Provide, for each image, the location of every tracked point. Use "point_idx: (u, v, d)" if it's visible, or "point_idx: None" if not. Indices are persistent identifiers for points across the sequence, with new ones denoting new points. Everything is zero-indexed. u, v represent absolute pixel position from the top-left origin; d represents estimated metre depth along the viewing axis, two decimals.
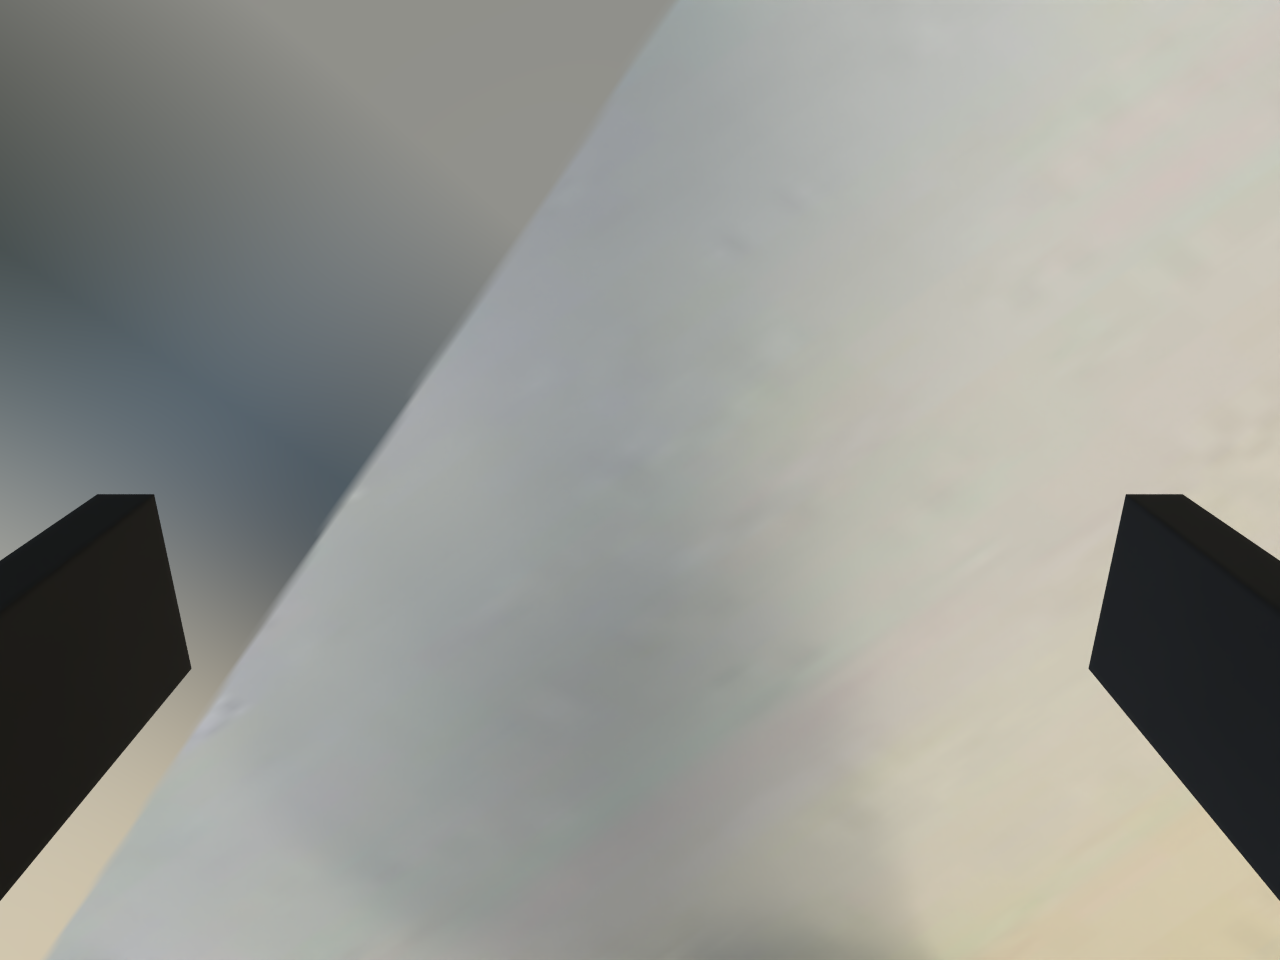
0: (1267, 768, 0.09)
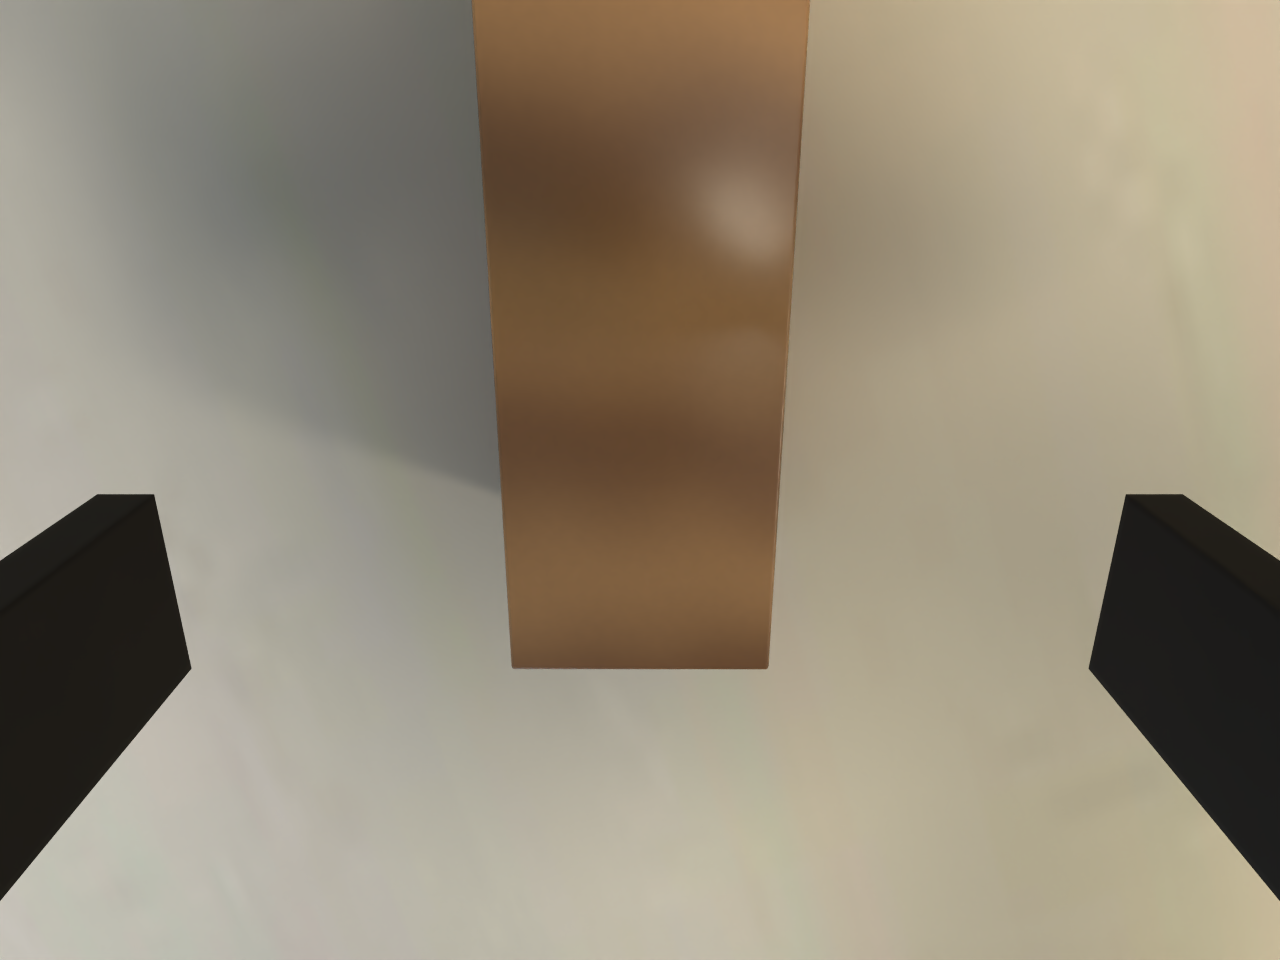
0: (1267, 768, 0.09)
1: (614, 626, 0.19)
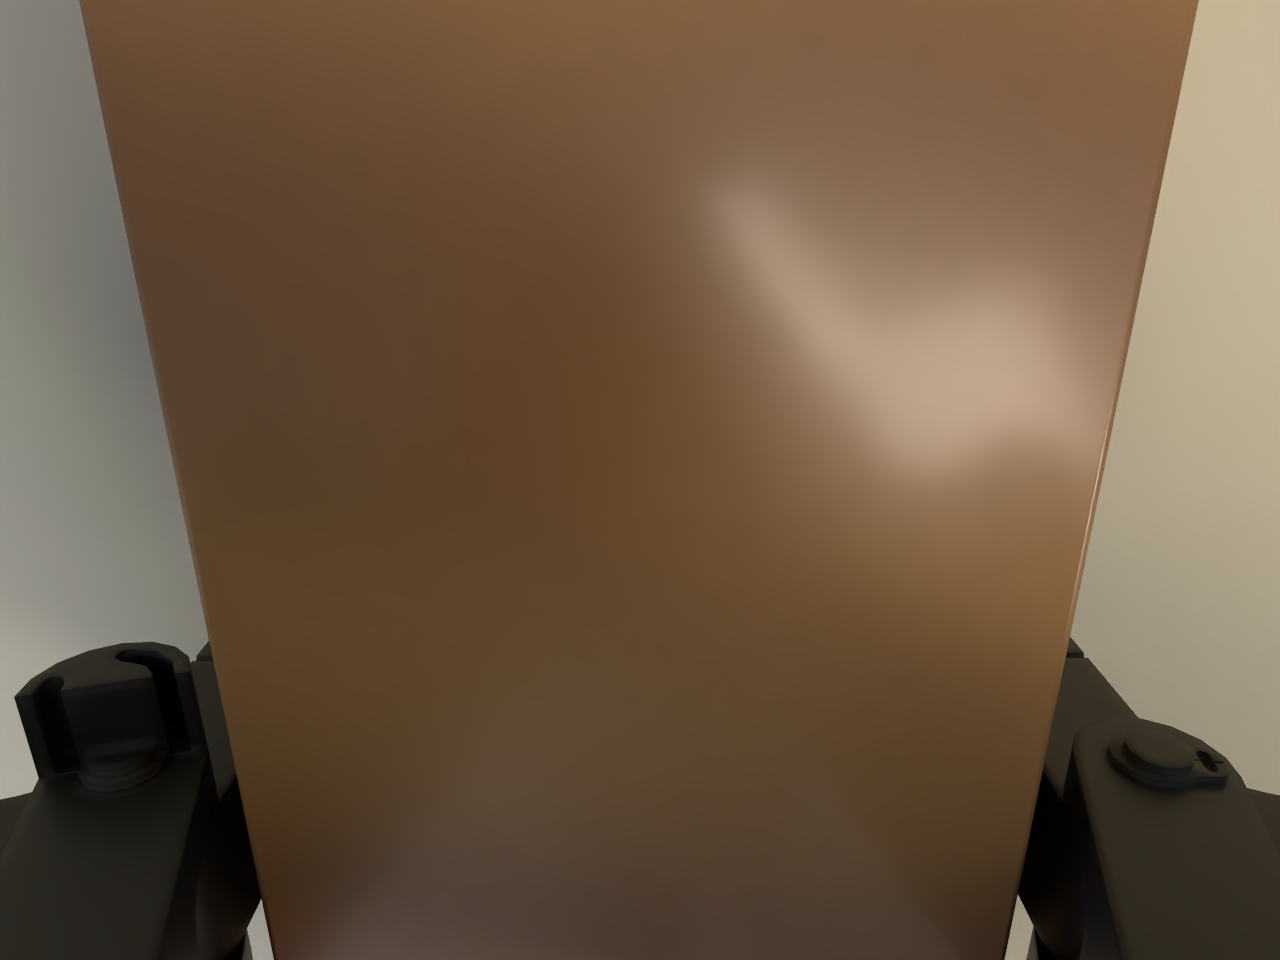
0: None
1: None
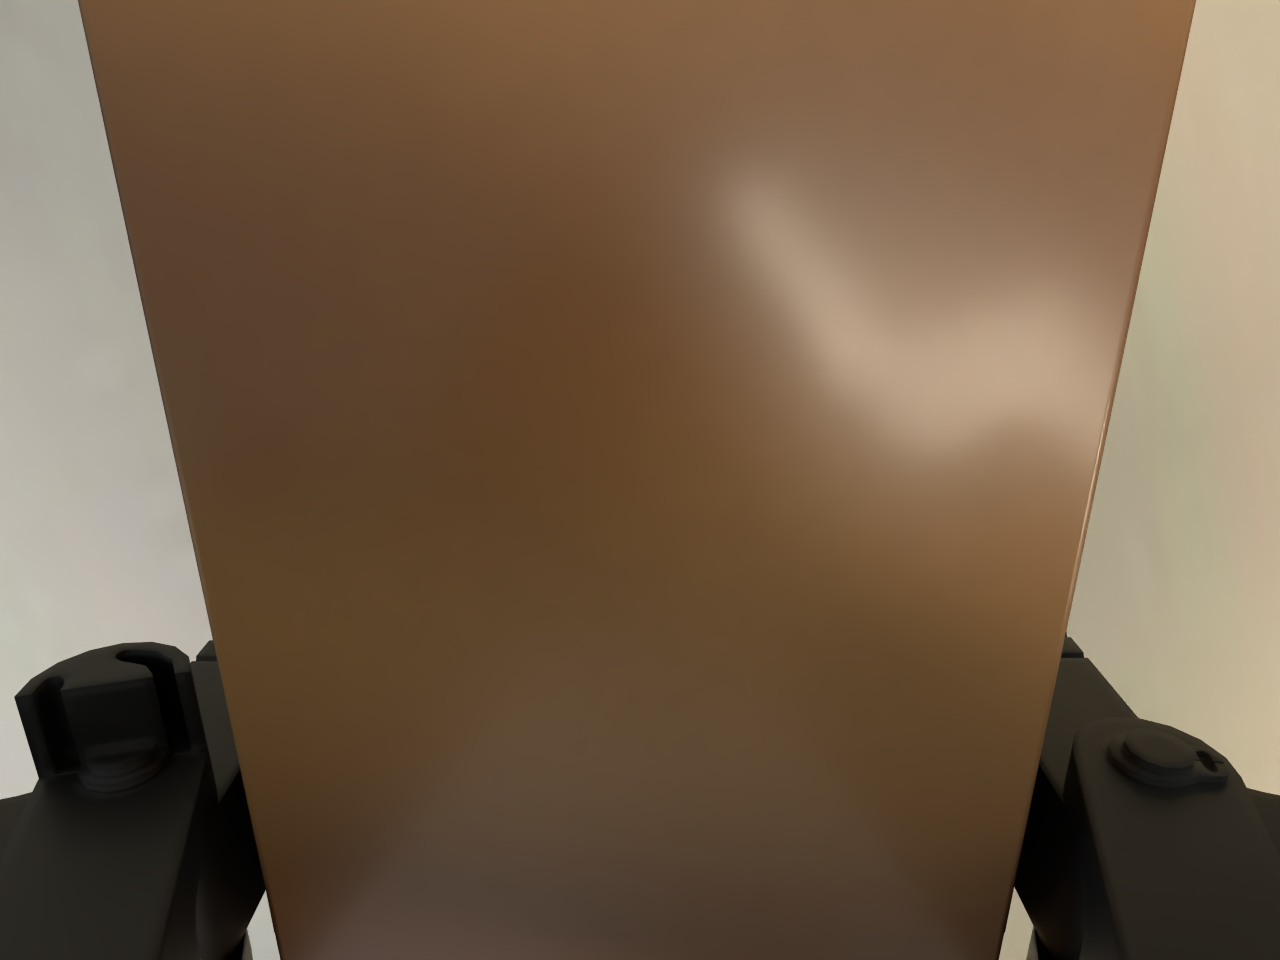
0: None
1: None
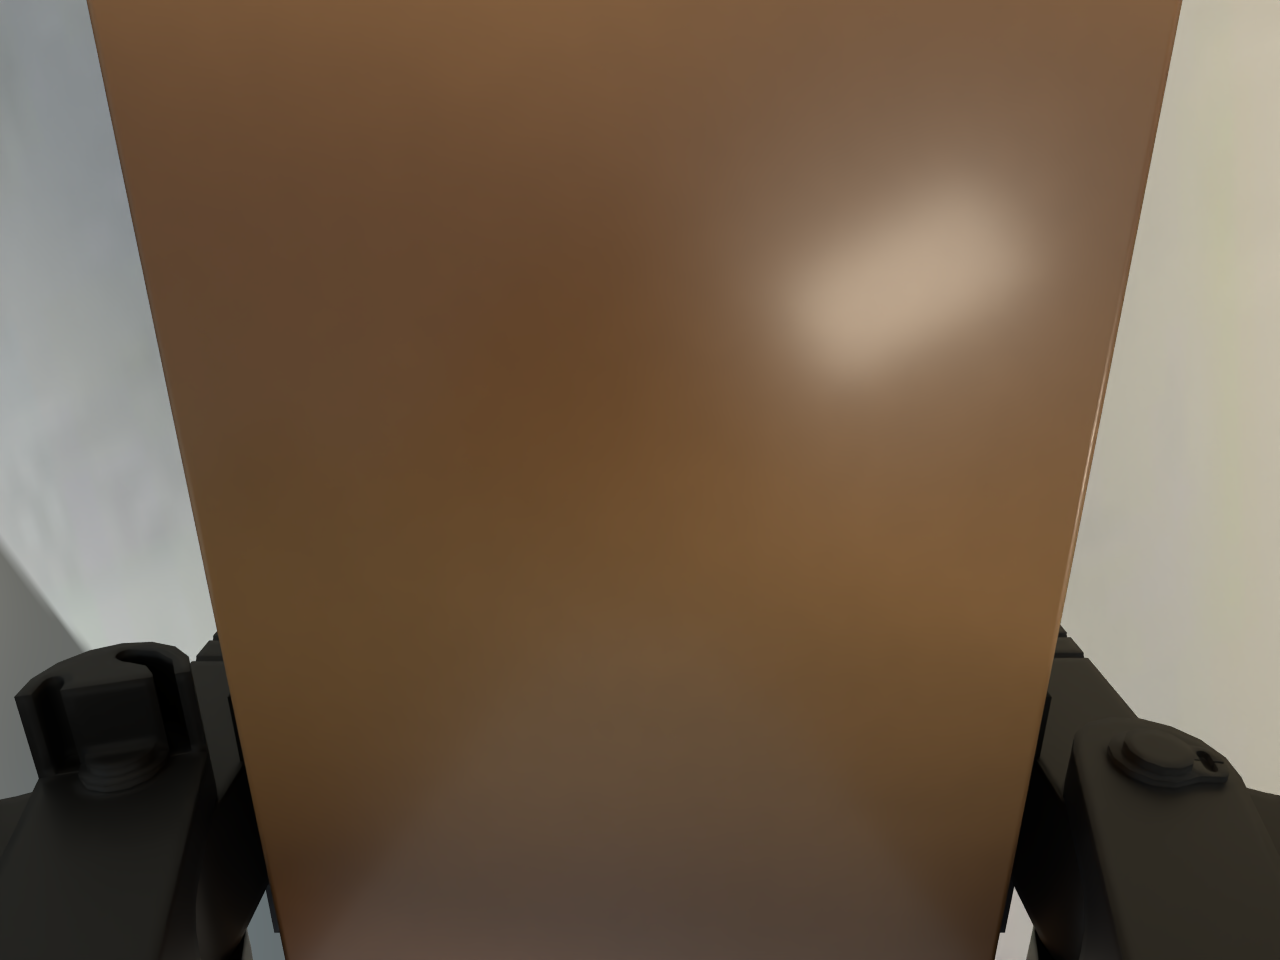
0: None
1: None
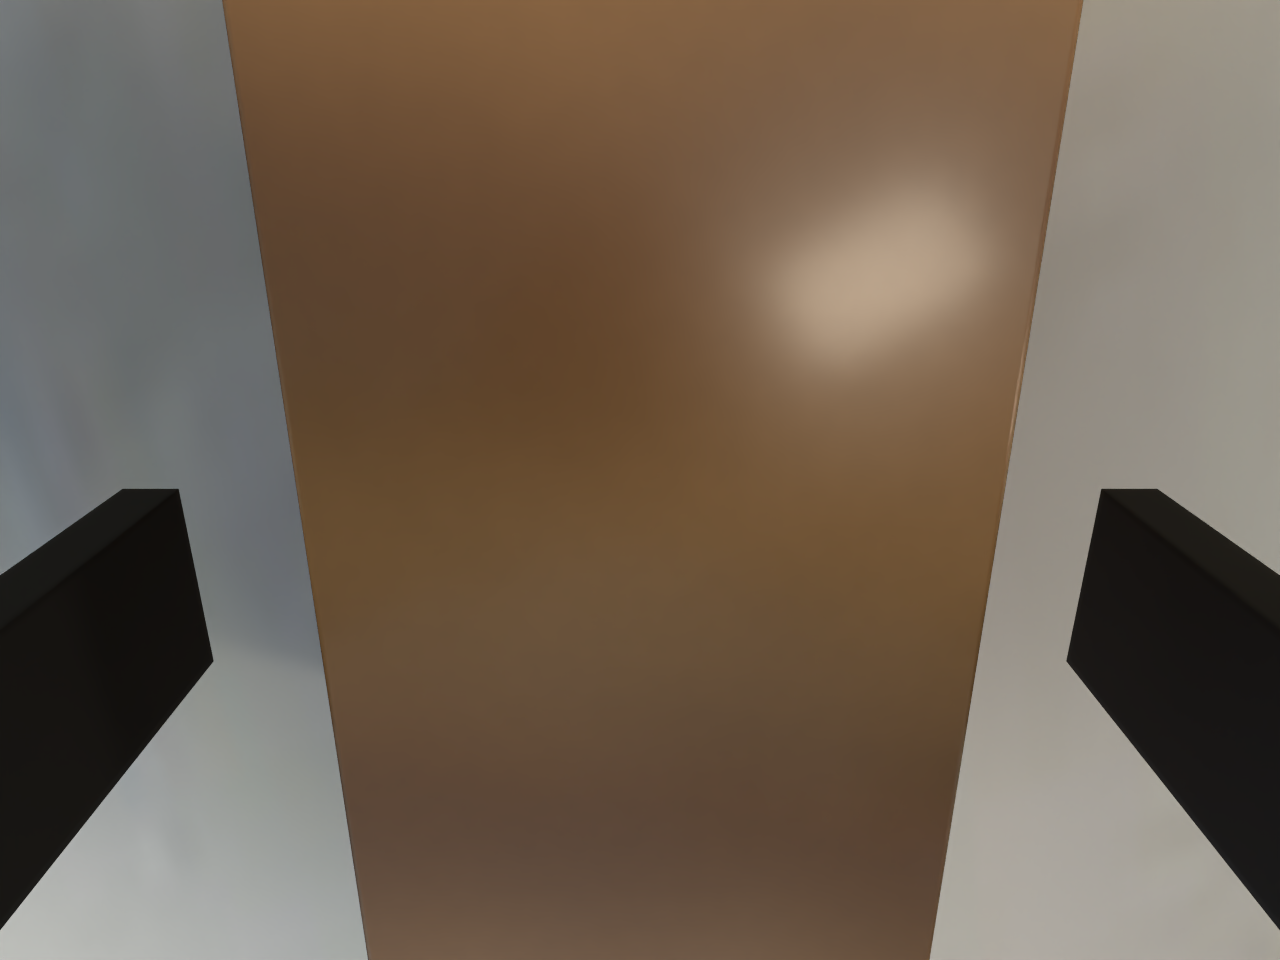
0: (1233, 756, 0.09)
1: None
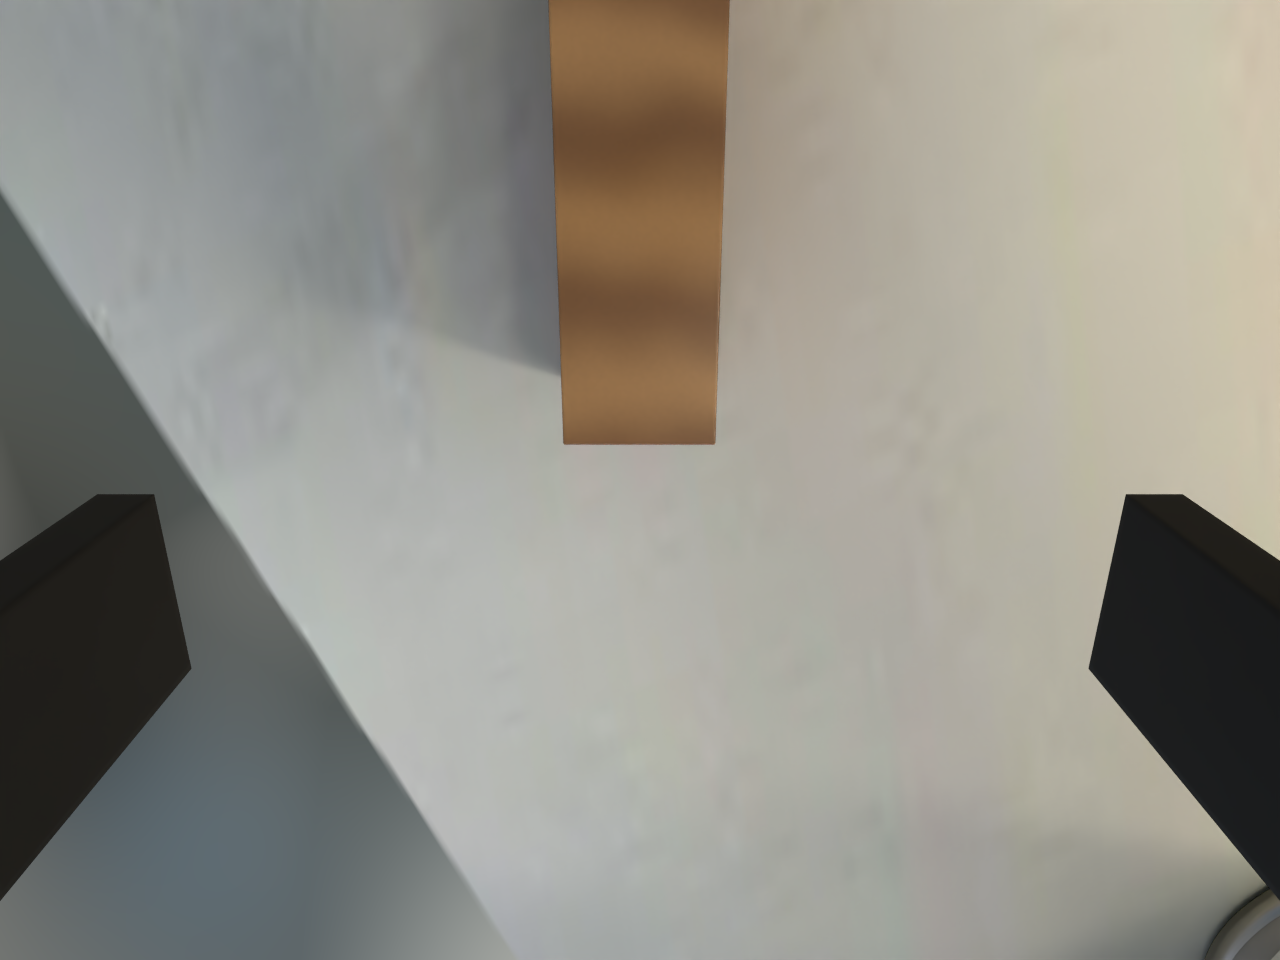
0: (1267, 768, 0.09)
1: (624, 417, 0.33)
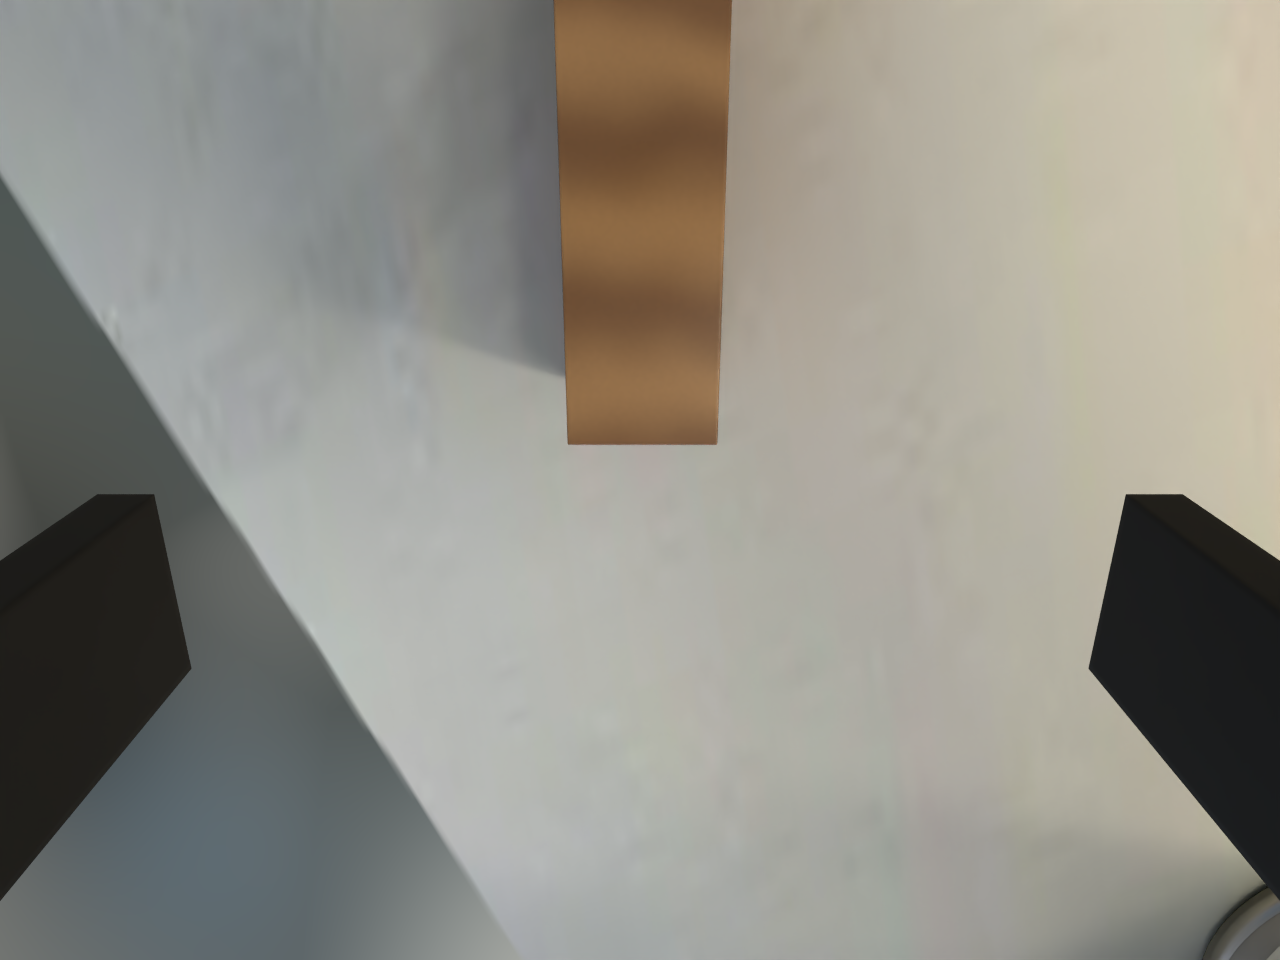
0: (1267, 768, 0.09)
1: (628, 417, 0.33)
